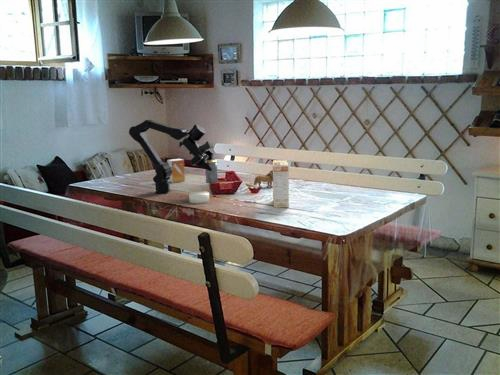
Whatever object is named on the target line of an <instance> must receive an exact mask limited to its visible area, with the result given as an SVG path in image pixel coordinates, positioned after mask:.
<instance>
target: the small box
mask: <svg viewBox="0 0 500 375" xmlns="http://www.w3.org/2000/svg"><path fill="white" fill-rule="evenodd" d="M166 162H168V163H169V165H170V167H172V168H171V169H172V175H171V176H170V179H169V180H168V183H172V184H174V183H182V182H183V181H184V182H186V180H185V178H186V175H185V159H184V158H183V159H182V158H173V159H172V158H171V159H167V160H166Z"/></svg>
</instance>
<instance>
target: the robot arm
mask: <svg viewBox="0 0 500 375" xmlns="http://www.w3.org/2000/svg"><path fill="white" fill-rule="evenodd" d="M149 129H152V130H154V131H157V132H161V133H164V134H166V135H169V136H170V138H172V139H174V140H177V141H179V142H178V143H179V146H178V147H179V148H182V147H184V148H185V149H186V150H187V151H188V154H189V155H192V156H193V157H192V158H191V159H190V161H189V162H190V164H191V166H193V167H194V166H196V167H199V168H203V169H204V170H205V169H207V170H209V171H212V169H211V167H210V166H209V164H208V163H207V162H206V160H214V159H213V156H214V154H215V151H214V150H213V148H214V146H213V144H214V143H213V142H212V141H210V140H207V141H206V142H205V143H203V144H200V143H199V144H198V143H197V142H199V141H200V140H201V139H202V138H203V137H204V136H205V135H206V133H207V131H206V129H205V128H204V127H202V126H201V125H198V123H197V124H194V125H193V127H192V128H191V129H190V130H187V128H185V127H181V126H170V125H167V124H165V123H162V122H158V121H155V120H153V119H145V120H144V121H142V122H141V123H138V124H137V125H134V126H131V127H130V128H129V130H128V134H129V136H130V137H131V138H132V139H133V140H134V141H135V142H137V143H138V144H139V145H140V146H141V148H142V150H143V151H144V152H145V154H146V156H147V157H148V159H149V160H150V161H151V163H152V165H153V166H154V171H155V173H156V174H155V175H154V176H153V178H152V181H153V182H154V184H155V192H154V193H155V194H168V193H169V192H170V191H171V187H170V186H171V185H170V184H171V183H170V182H169V181H168V180H169V179H170V176H171V175H172V169H171V168H172V167H170V165H169V163H168V162H167V161H165V162H164V161H163V160H162V159H161V157H160V155H159V154H158V152H157V151H156V149H155V148H154V147H153V145H152V144H151V142H150V141H149V139H148V135H147V131H148V130H149ZM180 140H182V141H180Z"/></svg>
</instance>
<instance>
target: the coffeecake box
mask: <svg viewBox="0 0 500 375" xmlns="http://www.w3.org/2000/svg"><path fill="white" fill-rule="evenodd" d="M272 170H273V181H272V186H273V187H272V195H273V196H272V198H273V199H272V200H273V208H289V206H290V200H289V199H290V197H289V196H290V192H289V191H290V188H289V187H290V186H289V185H290V184H289V183H290V180H289V178H290V177H289V163H288V160H287V159H284V160H283V159H282V160H279V159H275V160H272Z"/></svg>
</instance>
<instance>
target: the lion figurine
mask: <svg viewBox="0 0 500 375" xmlns="http://www.w3.org/2000/svg"><path fill="white" fill-rule="evenodd" d="M262 183H267V187H270V188H273V169H271V170H270V171H269V172H268V173H267V174H266V175H257V176H255V178H254V182H253V186H254V185H255V186H256V185H257V184H258V187H259V188H260V189H263V186H261V184H262Z"/></svg>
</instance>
